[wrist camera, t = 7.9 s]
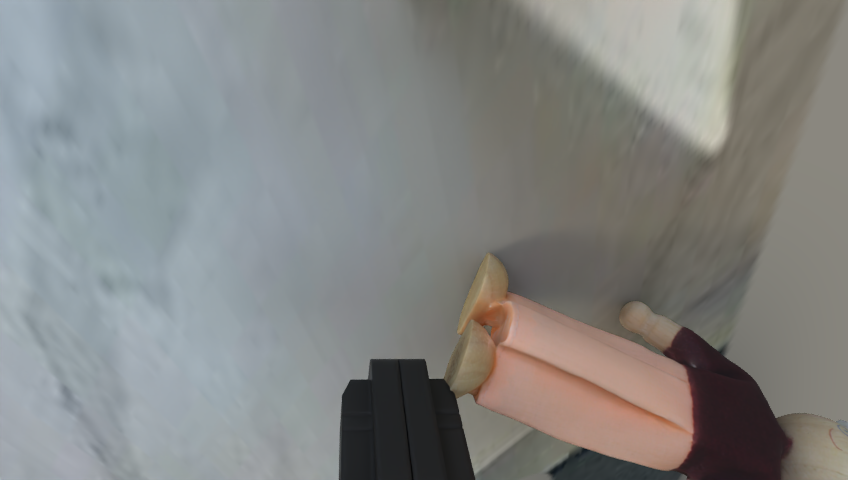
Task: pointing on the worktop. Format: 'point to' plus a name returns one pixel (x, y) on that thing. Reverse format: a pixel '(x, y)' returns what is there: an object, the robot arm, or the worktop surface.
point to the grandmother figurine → (632, 391)
